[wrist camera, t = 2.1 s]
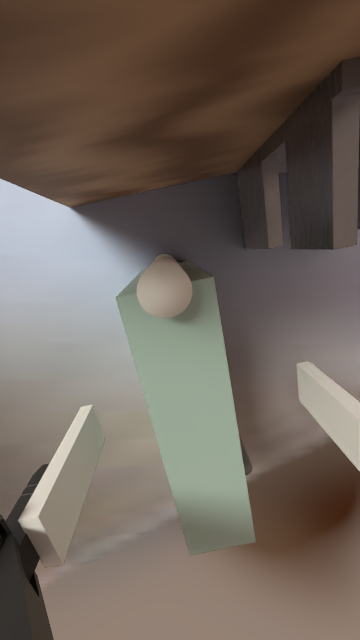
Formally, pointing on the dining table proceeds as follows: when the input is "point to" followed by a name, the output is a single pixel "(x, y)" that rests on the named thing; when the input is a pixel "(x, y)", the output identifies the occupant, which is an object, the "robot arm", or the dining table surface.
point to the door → (190, 399)
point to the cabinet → (155, 87)
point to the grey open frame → (309, 170)
